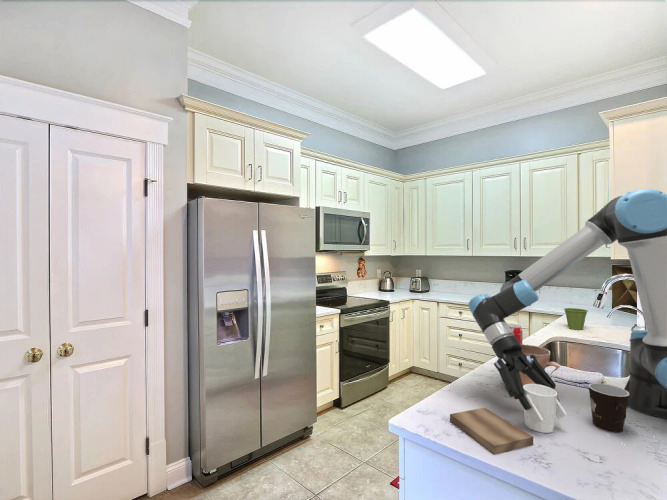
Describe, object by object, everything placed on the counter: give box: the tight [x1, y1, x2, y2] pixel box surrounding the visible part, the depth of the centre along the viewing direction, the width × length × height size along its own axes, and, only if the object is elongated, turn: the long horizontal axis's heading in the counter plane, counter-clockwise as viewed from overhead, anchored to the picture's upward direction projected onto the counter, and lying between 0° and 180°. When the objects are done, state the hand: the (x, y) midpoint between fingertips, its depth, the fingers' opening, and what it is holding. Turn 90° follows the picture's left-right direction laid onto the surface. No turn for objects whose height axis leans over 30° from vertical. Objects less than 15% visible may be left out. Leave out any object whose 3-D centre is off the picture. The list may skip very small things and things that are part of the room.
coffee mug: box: [588, 382, 629, 434], centre depth 92 cm, size 12×9×10 cm
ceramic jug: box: [497, 343, 559, 389], centre depth 117 cm, size 18×14×14 cm
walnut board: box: [449, 407, 534, 455], centre depth 90 cm, size 12×16×2 cm
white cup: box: [523, 384, 558, 434], centre depth 93 cm, size 8×8×10 cm
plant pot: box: [563, 307, 589, 331], centre depth 204 cm, size 12×12×11 cm
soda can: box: [507, 323, 524, 344], centre depth 159 cm, size 7×7×12 cm
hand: (551, 419), depth 90 cm, fingers closed on white cup, 8 cm apart
